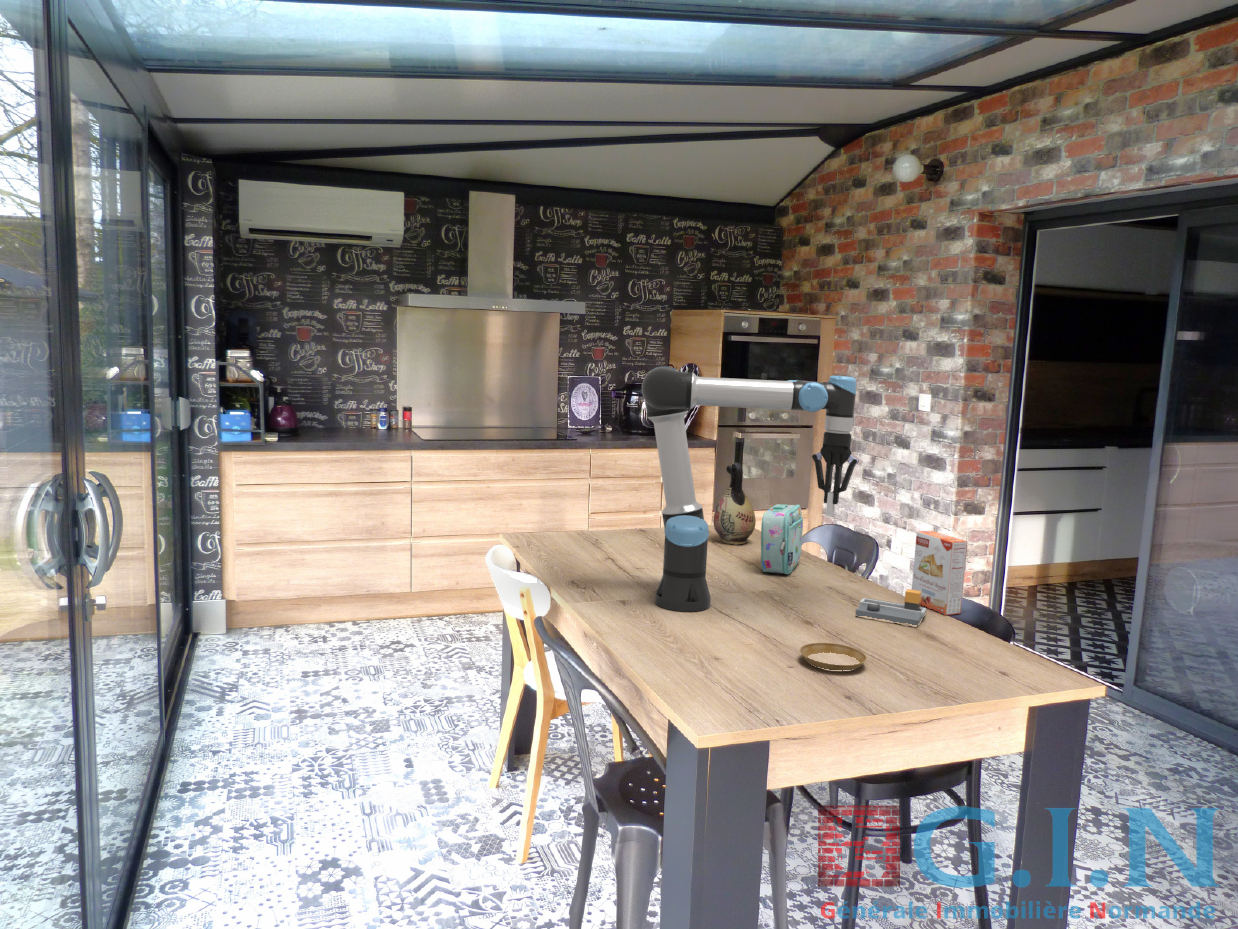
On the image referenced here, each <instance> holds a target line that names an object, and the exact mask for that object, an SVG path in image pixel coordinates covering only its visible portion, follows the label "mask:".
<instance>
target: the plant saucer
mask: <svg viewBox="0 0 1238 929" xmlns="http://www.w3.org/2000/svg"><path fill="white" fill-rule="evenodd" d="M799 652H800V654H801V656H802V658H803V659H804V660H805V661H806V662H807V663H808V664H809V665H810V664H812V665H814V666H816V667H820V668H824V669H829V670H842V671H843V670H852V669H855V670H857V669H858V668H860V667H861V666H863V664H864V663H865V662H866V661H867V660H868V657H867V655H866V654H865V653H864V652H863V651H861V650H859V649H857V648H854V647H852V646H850V645H849V646H848V645H844V644H841V643H840V644H839V643H834V642H812V643H807V644H804V645H802V646H800V648H799ZM823 652H824V653H830V652H831V653H836V654H845V655H848V656H850V657H854V658H856V660H858V661H859V662H860V663H859V664H854V665H835V664H828V663H823V662H819V661H815V660H813V659H810V658H808V656H809V655H811V654H818V653H823ZM812 665H811V666H812ZM816 667H815V668H816ZM856 668H857V669H856Z"/></svg>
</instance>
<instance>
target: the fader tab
mask: <svg viewBox="0 0 1238 929" xmlns="http://www.w3.org/2000/svg"><path fill="white" fill-rule="evenodd" d="M921 592H922V591H917V590H912V588H911V589H910V588H907V589H906V590H905V594H904V595H905V596H904V604H905V605H904V609H909V610H915V611H919V610H920V607H921V605H920V601H921Z"/></svg>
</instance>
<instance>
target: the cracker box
mask: <svg viewBox="0 0 1238 929" xmlns="http://www.w3.org/2000/svg"><path fill="white" fill-rule="evenodd" d="M914 547H915V548H914V557H913V558H914V560H913V572H912V583H911V590H917V591H922V592H921V601H920V606H921V605H922V606H921V607H924V606H925V607H924V608H926V607H927V609H929V610H931V609H933V610H932V611H934V610H935V611H934V612H936V611H938V612H939V614H941V613H944V615H943V616H953V615H960V614H961V612H962V604H963V603H962V602H963V593H964V591H963V590H964V581H965V571H966V562H967V551H968V540H966V539H965V540H964V539H961V538H958V537H954V536H951V535H949V534H944V533H941V532H938V531H933V530H919V531H916V538H915V546H914ZM960 598H961V599H960ZM938 612H937V613H938Z"/></svg>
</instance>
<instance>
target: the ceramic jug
mask: <svg viewBox="0 0 1238 929" xmlns="http://www.w3.org/2000/svg"><path fill="white" fill-rule="evenodd" d="M725 469H726V473H728V475H730V483H729V486H728V488H727V489H726V491H725V492H724V494H723V495H722V496H721V498H720V500H719V501H718V503H717V505H716V507H715V510H714V513H713V520H712V522H713V523H712V524H713V527H714V530H715V532H716V533H717V535H718V536H719V538H720V539H721V542H722V543H723V544H729V545H735V546H737V545H743V544H747V543H748V538H749V537H751V536H752V535H753V532H754V530H755V528H756V515H755V510H754V506H753V505H752V503H751V502H750V500H749V498H748V496H747V495H746V492H745V491H744V490H743V478H744V476H743V473H744V472H743V471H744V470H743V467H742V465H741V463H740V462H734V463H732V465H727V467H726V468H725Z"/></svg>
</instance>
